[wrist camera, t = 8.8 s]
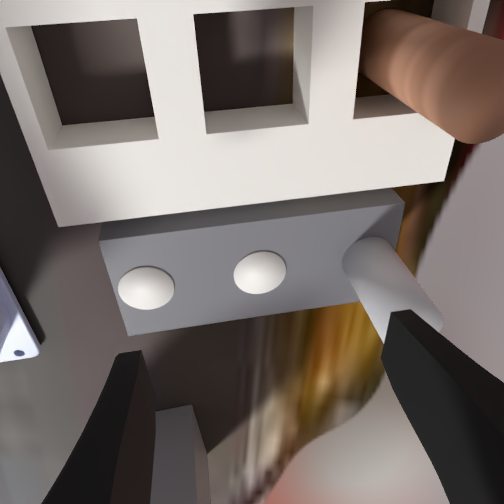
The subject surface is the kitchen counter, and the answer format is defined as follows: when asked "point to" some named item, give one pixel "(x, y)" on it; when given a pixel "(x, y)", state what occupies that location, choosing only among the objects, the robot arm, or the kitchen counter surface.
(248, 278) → the studded grey block
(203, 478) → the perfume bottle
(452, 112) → the terracotta pin
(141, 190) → the peg board
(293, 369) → the kitchen counter surface
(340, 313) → the kitchen counter surface
